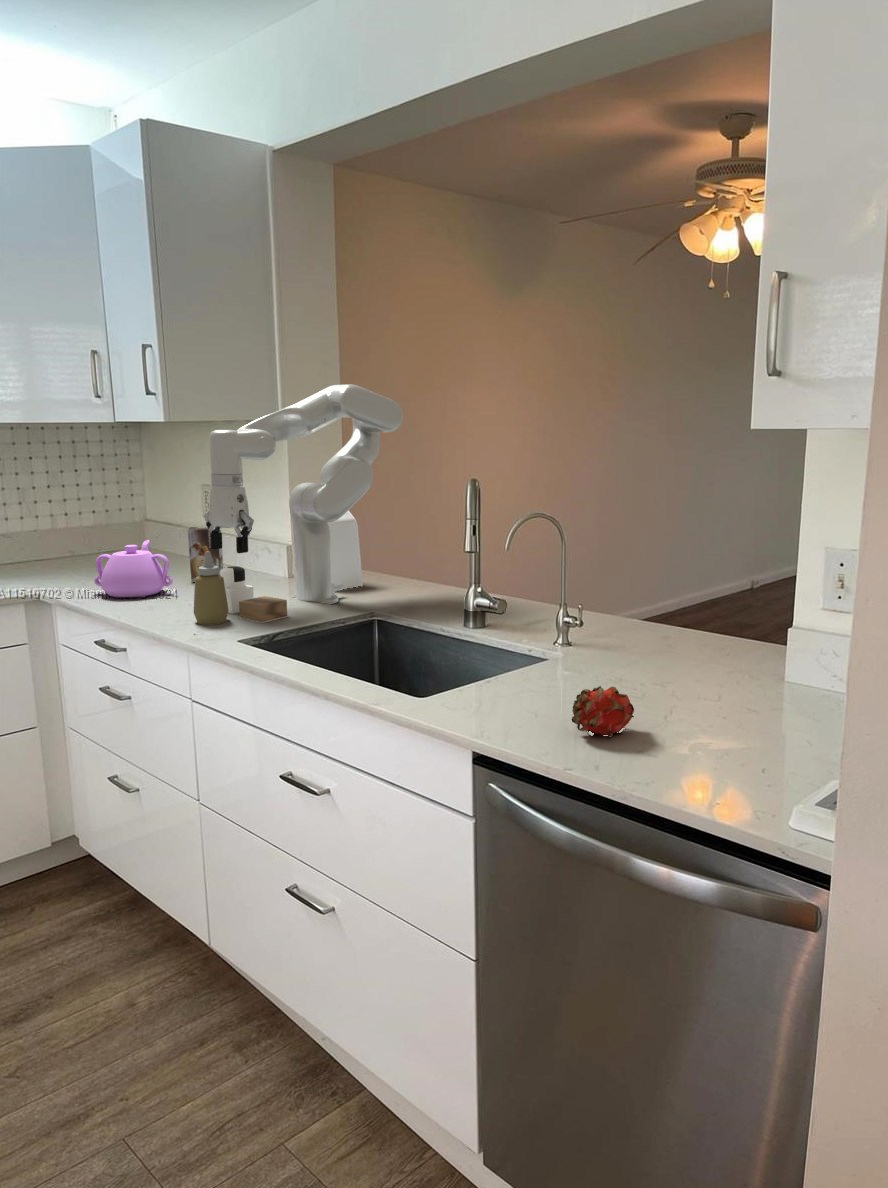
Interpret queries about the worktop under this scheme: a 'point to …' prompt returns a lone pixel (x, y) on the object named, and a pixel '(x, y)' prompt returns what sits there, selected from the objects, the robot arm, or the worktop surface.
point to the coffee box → (201, 550)
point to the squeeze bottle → (210, 594)
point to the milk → (345, 552)
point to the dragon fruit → (602, 711)
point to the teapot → (133, 572)
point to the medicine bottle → (235, 587)
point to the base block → (263, 608)
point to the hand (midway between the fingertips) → (229, 550)
